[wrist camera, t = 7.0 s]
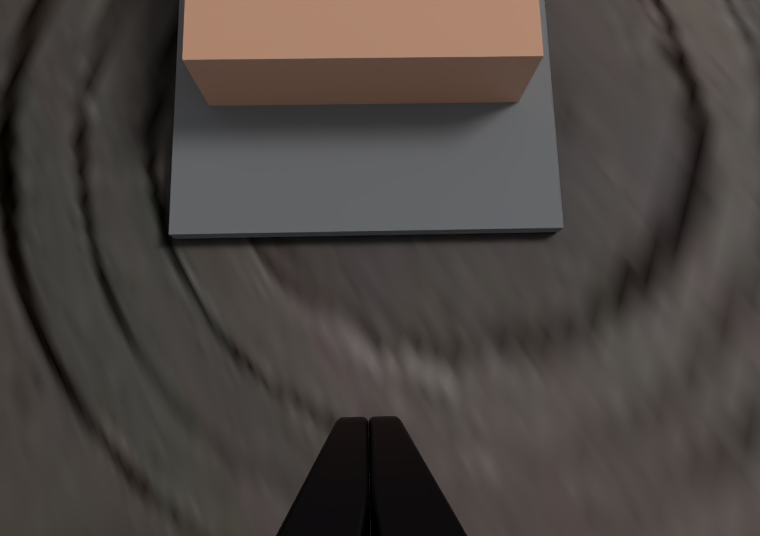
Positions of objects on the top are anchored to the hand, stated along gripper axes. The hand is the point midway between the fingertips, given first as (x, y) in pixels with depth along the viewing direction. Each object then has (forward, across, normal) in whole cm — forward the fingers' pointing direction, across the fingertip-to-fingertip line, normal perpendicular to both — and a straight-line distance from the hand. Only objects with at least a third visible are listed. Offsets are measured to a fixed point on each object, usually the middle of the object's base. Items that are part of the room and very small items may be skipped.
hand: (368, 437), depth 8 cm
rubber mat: (+14, 0, -3) cm, 14 cm away
